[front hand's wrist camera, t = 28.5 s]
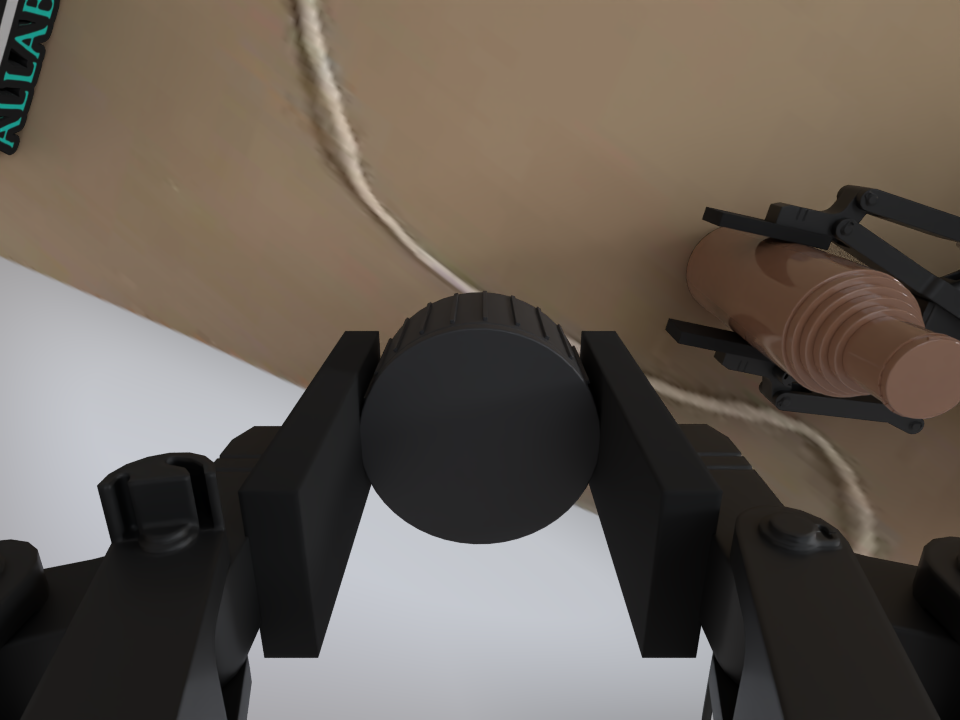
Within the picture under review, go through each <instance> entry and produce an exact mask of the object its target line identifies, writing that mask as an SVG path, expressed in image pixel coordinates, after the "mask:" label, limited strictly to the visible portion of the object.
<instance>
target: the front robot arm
mask: <svg viewBox="0 0 960 720" xmlns="http://www.w3.org/2000/svg"><path fill="white" fill-rule="evenodd" d="M580 360H581V362H582V364H583V367H584V369H585V371H586V374H587V376H588V378H589V380H590V384H588V387H589V389H590V391H591V394H592V396H593V399H594V401H595V403H596V406H597V410H598V414H599V418H600V441H599V453H598V462H597V465H596V468H595V471H594V473H593V476H592V478H591V480H590V482H589V486H590V489H591V492H592V495H593V499H594V502H595V505H596V508H597V512H598V515H599V518H600V521H601V525H602V528H603V531H604V534H605V538H606V541H607V544H608V548H609V551H610V554H611V557H612V560H613V564H614V567H615V570H616V573H617V577H618V580H619V583H620V587H621V590H622V593H623V596H624V600H625V603H626V606H627V609H628V613H629V616H630V619H631V622H632V626H633V629H634V632H635V635H636V639H637V642H638V645H639V648H640V652H641V655H642V658H696V654H697V648H698V642H699V636H700V630H701V626H702V628H703V630H704V633H705V635H706V637H707V639H708V641H709V644H710V646H711V648H712V650H713V655H712V661H711V666H710V672H709V678H708V684H707V690H706V695H705V701H704V707H703V713H702V720H711V716H712V712H713V719H714V720H960V538H959V537H944V538H938V539H933V540H932V541H930V542H929V543H928V544H927V545H925V546H924V548H923V552H922V555H921V558H920V561H919V565H918V566H914V565H908V564H903V563H898V562H893V561H888V560H883V559H878V558H873V557H868V556H864V555H860V554H856V553H854V552H853V550H852V548H851V546H850V544H849V542H848V541H847V540H846V539H845V538H844V536H843V535H842V534H841V533H840V532H839V530H838V529H836V528H835V527H833V526H832V525H830V524H829V523H827V522H826V521H824V520H823V519H821V518H819V517H816V516H814V515H811V514H809V513H806V512H804V511H801V510H797V509H793V508H788V507H784V506H783V504H782V503H781V502H780V501H779V499H778V498H777V497H776V496H775V494H774V493H773V492H772V491H771V489H770V488H769V487H768V486H767V484H766V483H765V482H764V481H763V480H762V478H761V477H760V476H759V475H758V473H757V472H756V471H755V470H752V466H751V465H750V463H749V462H748V461H747V460H746V458H745V457H744V456H741V452H740V451H739V450H738V449H737V447H736V446H735V445H734V444H733V442H732V441H731V440H730V439H729V438H728V437H727V436H725V435H724V434H722V433H720V432H719V431H717V430H715V429H714V428H712V427H710V426H709V425H707V424H677V422H676V421H675V419H674V418H673V416H672V415H671V414H670V412H669V411H668V409H667V408H666V406H665V405H664V403H663V402H662V400H661V399H660V397H659V396H658V394H657V393H656V391H655V390H654V388H653V387H652V385H651V384H650V382H649V381H648V379H647V378H646V376H645V375H644V373H643V372H642V370H641V369H640V367H639V366H638V364H637V363H636V361H635V360H634V358H633V357H632V355H631V354H630V352H629V351H628V350H627V348H626V347H625V345H624V344H623V342H622V341H621V339H620V338H619V336H618V335H617V333H616V332H615V331H582V334H581V350H580ZM379 361H380V343H379V331H345V332H344V334H343V335H342V337H341V338H340V340H339V341H338V343H337V344H336V346H335V347H334V349H333V350H332V352H331V353H330V355H329V356H328V358H327V359H326V361H325V362H324V364H323V365H322V367H321V368H320V370H319V371H318V373H317V374H316V375H315V377H314V378H313V380H312V381H311V383H310V384H309V386H308V387H307V389H306V390H305V392H304V393H303V395H302V396H301V398H300V399H299V401H298V402H297V404H296V405H295V407H294V408H293V410H292V411H291V413H290V414H289V416H288V417H287V419H286V420H285V422H284V423H283V425H282V426H254V427H252V428H251V429H249V430H247V431H246V432H244V433H242V434H241V435H239V436H238V437H236V438H234V439H233V440H232V441H231V442H230V443H229V444H228V446H227V447H226V448H225V449H224V451H223V452H222V453H221V454H220V458H218V459H216V461H215V462H212V461H211V460H210V459H209V458H207V457H206V456H203V455H199V454H194V453H166V454H161V455H155V456H150V457H146V458H143V459H140V460H137V461H135V462H132V463H129V464H126V465H124V466H122V467H121V468H119V469H117V470H115V471H114V472H112V473H110V474H108V475H107V476H106V477H105V478H104V479H103V480H102V481H101V482H100V483H99V484H98V485H97V487H98V491H99V495H100V499H101V503H102V507H103V511H104V515H105V519H106V523H107V527H108V531H109V535H110V539H111V545H110V547H109V549H108V551H107V553H106V555H105V556H104V557H100V558H96V559H92V560H87V561H82V562H77V563H72V564H67V565H62V566H56V567H51V568H46V569H43V566H42V563H41V560H40V556H39V553H38V550H37V549H36V548H35V547H34V546H32V545H31V544H30V543H29V542H25V541H18V540H1V541H0V720H247V713H248V706H249V698H250V691H251V683H252V681H251V673H250V667H249V661H248V652H249V650H250V648H251V646H252V643H253V641H254V639H255V637H256V634H257V632H258V630H259V628H260V633H261V639H262V645H263V652H264V657H265V658H318V656H319V653H320V650H321V647H322V643H323V640H324V637H325V633H326V630H327V627H328V624H329V621H330V617H331V614H332V611H333V608H334V604H335V601H336V598H337V595H338V591H339V588H340V585H341V581H342V578H343V575H344V572H345V568H346V565H347V562H348V559H349V555H350V552H351V549H352V546H353V542H354V539H355V536H356V533H357V529H358V526H359V523H360V520H361V516H362V513H363V510H364V507H365V503H366V500H367V497H368V494H369V490H370V487H371V482H370V481H369V479H368V476H367V474H366V472H365V469H364V467H363V460H362V447H361V434H360V416H361V411H362V408H363V405H364V401H363V397H364V395H365V393H366V391H367V388H368V386H369V384H370V382H371V379H372V377H373V375H374V372H375V370H376V368H377V365H378V363H379Z"/></svg>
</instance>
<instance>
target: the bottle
mask: <svg viewBox="0 0 960 720" xmlns="http://www.w3.org/2000/svg"><path fill="white" fill-rule="evenodd" d="M686 276H687V284H688V288H689V290H690V292H691V294H692V296H693V297H694V299H695V300H696V301H697V302H698V303H699V304H700V305H701V306H703V307H704V308H705V309H706V310H708V311H709V312H710V313H711V314H713V315H714V316H715V317H716V318H718V319H719V320H720V321H721V322H723V323H724V324H725V325H726V326H728V327H729V328H730V329H731V330H733V331H734V332H735V333H736V334H738V335H739V336H740V337H741V338H743V339H744V340H745V341H746V342H748V343H749V344H750V345H751V346H753V347H754V348H755V349H756V350H758V351H759V352H760V353H762V354H763V355H764V356H765V357H767V358H768V359H769V360H770V361H772V362H773V363H774V364H775V365H777V366H778V367H779V368H780V369H782V370H783V371H784V372H785V373H787V374H788V375H789V376H790V377H792V378H793V379H794V380H795V381H797V382H798V383H799V384H801V385H802V386H803V387H805V388H807V389H809V390H811V391H814V392H817V393H821V394H824V395H828V396H832V397H854V396H861V395H872V396H874V397H875V398H877V399H878V400H880V401H881V402H882V403H883V404H884V405H885V406H886V407H887V408H888V409H889V410H890V411H892V412H893V413H896V414H898V415H900V416H902V417H909V418H914V419H925V418H931V417H935V416H938V415H941V414H943V413H945V412H947V411H948V410H950V409H952V408H953V407H954V406H956V405H957V404H958V403H959V402H960V341H959V340H957V339H955V338H953V337H950V336H948V335H946V334H941V333H936V332H933V331H931V330H929V329H927V328H925V325H924V322H923V319H922V315H921V310H920V307H919V305H918V302H917V301H916V299H915V297H914V296H913V295H912V294H911V292H910V291H909V290H908V289H907V288H905V286H904V285H903V284H902V283H901V282H899V281H898V280H897V279H896V278H894V277H892V276H890V275H888V274H886V273H883V272H881V271H878V270H875V269H872V268H869V267H867V266H864V265H861V264H858V263H855V262H852V261H850V260H847V259H844V258H841V257H838V256H835V255H833V254H830V253H827V252H824V251H821V250H818V249H816V248H813V247H810V246H807V245H802V244H798V243H793V242H789V241H784V240H780V239H775V238H771V237H766V236H762V235H757V234H753V233H748V232H744V231H739V230H735V229H730V228H726V227H720V228H718V229H716V230H714V231H712V232H711V233H709V234H708V235H707V236H705V237H704V238H703V239H702V240H701V241H700V242H699V243H698V245H697V246H696V247H695V249H694V250H693V252H692V254H691V256H690V259H689V262H688V266H687V273H686Z"/></svg>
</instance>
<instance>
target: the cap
mask: <svg viewBox="0 0 960 720" xmlns="http://www.w3.org/2000/svg"><path fill="white" fill-rule="evenodd" d="M588 384H590V380H589V378H588V376H587V374H586V371H585V369H584V367H583V364H582V362H581V360H580V357H579V355H578V353H577V351H576V348H575V346H571V344H570V343H569V341H568V339H567V338H566V336H565V335H564V333H563V330H562V328H561V326H560V325H559V324H558V325H556V324H555V323H554V322H553V321H552V320H551V319H550V318H549V317H548V316H547V315H545V314H544V313H542V312H541V309H540V308H539V307H537V308H535V307H533V306H531V305H530V304H528V303H526V302H524V301H521V300H518V299H516V298H515V296H512V295H511V297H510V296H505V295H501V294H495V293H487V291H483V292H478V293H465V294H458V293H455V294H454V296H451V297H447V298H444V299H441V300H439V301H437V302H434V303H431V302H430V303H428V304H427V307H425V308H423V309H422V310H420V311H419V312H417V313H416V314H415V315H414V316H412V317H411V318H410V319H409V318H407V319H406V320H405V322H404V324H403V326H402V327H401V328H400V329H399V331H398V332H397V333H396V335H395V336H394V337H393V339H391V338H390V339H389V341H388V343H387V345H386V347H385V350H384V352H383V354H382V356H381V359H380V361H379V363H378V365H377V368H376V370H375V372H374V375H373V377H372V379H371V382H370V384H369V386H368V388H367V391H366V393H365V395H364V397H363V401H364V405H363V408H362V411H361V416H360V434H361V447H362V460H363V467H364V469H365V472H366V474H367V476H368V479H369V481H370V482H371V484H372V486H373V488H374V489H375V491H376V493H377V494H378V495H379V496H380V498H381V499H382V500H383V502H384V503H385V504H386V505H387V506H388V507H389V508H390V509H391V510H392V511H393V512H394V513H395V514H397V515H398V516H399V517H400V518H402V519H403V520H404V521H406V522H407V523H409V524H410V525H412V526H414V527H415V528H417V529H419V530H421V531H423V532H426V533H428V534H430V535H432V536H435V537H439V538H442V539H445V540H449V541H454V542H459V543H468V544H492V543H500V542H506V541H510V540H515V539H518V538H521V537H524V536H527V535H530V534H532V533H534V532H536V531H538V530H540V529H542V528H544V527H546V526H548V525H549V524H551V523H552V522H554V521H555V520H557V519H558V518H559V517H561V516H562V515H563V514H564V513H565V512H567V511H568V510H569V509H570V508H571V507H572V505H573V504H574V503H575V502H576V501H577V500H578V499H579V497H580V496H581V495H582V493H583V492H584V490H585V489H586V487H587V485H588V483H589V482H590V480H591V478H592V476H593V473H594V471H595V468H596V465H597V462H598V453H599V441H600V418H599V414H598V410H597V406H596V403H595V401H594V399H593V396H592V394H591V391H590V389H589V387H588Z"/></svg>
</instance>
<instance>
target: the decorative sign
mask: <svg viewBox="0 0 960 720" xmlns="http://www.w3.org/2000/svg"><path fill="white" fill-rule="evenodd" d="M59 1H60V0H0V151H2V152H4V153H6V154H8V155H12V154H14V153H15V152H16V150H17V148H18V145H19V141H20V139H19V136H18V135H16V134H14V133H16V132H19V131H21V130H22V129H23V127H24V125H25V122H26V119H27V113H28V111H29V108H30V105H31V102H32V98H33V94H34V87H35V85H36V83H37V80H38V77H39V74H40V70H41V67H42V61H43V59H44V56H45V47H44V46H43V45H41V44H40V43H42V42H46V41H47V40H48V39H49V37H50V35H51V32H52V29H53V23H54V21H55V19H56V15H57V12H58V8H59Z"/></svg>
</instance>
